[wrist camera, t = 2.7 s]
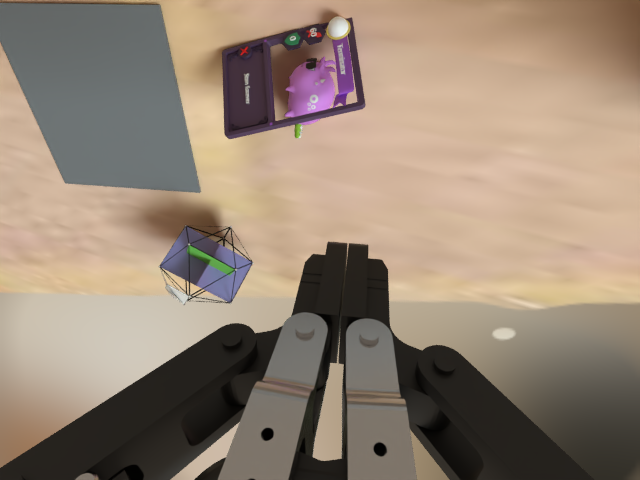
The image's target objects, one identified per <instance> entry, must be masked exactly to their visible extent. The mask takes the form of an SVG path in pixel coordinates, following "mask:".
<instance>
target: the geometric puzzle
mask: <svg viewBox="0 0 640 480" xmlns="http://www.w3.org/2000/svg"><path fill="white" fill-rule="evenodd" d="M209 227H220V226H209ZM191 228H192V227H189V226H186V225H185V228H184V229H183V231H182V232H181V234H180V235H179V237H178V239H177V240H176V242H175V243H174V245H173V246H172V248H171V249H170V251H169V252H168V254H167V255H166V257H165V258H164V260H163V262H162V263H161V265H160V266H158V267H160V268H161V269H162V268H163V269H165V270H167V271H169V272H171V273H173V274H175V275H177V276H179V277H181V278H183V279H185V280H187V281H189V295H188V294H187V283H186V292H185V291H184V290H183V289H182V288H181V287H180V286H179V285H178V284H177V283H176V282H175V281H174V280H173V279H172V278H171V277H170V276H169V275H168V274H167V273H166V272H165V271H164V270H163V269H162V270H163V272H164V273H166V274H167V275H168V276H169V277H170V278H171V279H172V280H173V281H174V282H175V283H176V284H177V285H178V286H179V287H180V288H181V289H182V290H183V291H184V292H185V293H186V294H184V293H182V292H181V291H179V290H177V289H175V288H173V287H172V286H170V285H168V284H167V282H166V280H165V278H164V276H163V278H164V280H165V283H166V287H165V288H166V289H167V291H169V294H170V295H171V296H172V297H173V298H175V297H174V295H175V296H176V297H177V298H178V299H179V300H180V301H181V302H182V303H183V305H185V303H186V302H187V301H188V300H190V299H192V298H194V297H196V296H197V295H196V296H194V297H193V296H192V295H194V294H195V293H197V292H199V291H201V290H202V289H204V290H205V291H208V292H210V293H212V294H214V295H216V296H218V297H220V298H222V299H224V300H225V301H227V302H226V303H230V304H232V303H231V302H232V301H233V298H234V297H235V295H236V293H237V291H238V290H239V288H240V286H241V284H242V282H243V280H244V278H245V277H246V275H247V273H248V271H249V269H250V267H251V265H252V264H253V262H252V260H249V259H248V258H247V257H246V256H245V255H244V254H242V253H241V252H240V251H239V250H238V249H236V248H235V247H234V246H233V238H232V244H230V243H229V242H228V241H227V240H226V239H225V237H226V235H227V233H228V232H229V230H230V229H231V228H232V226H230V227H228V228H229V229H228V228H226V229H228V231H227V233H226V234H225V236H224V238H223V239H221V240H223V246H222V245H220V244H218V242H219V241H221V240H219V241H217V242H215V241H213V240H211V239H209V238H207V237H209V236H211V235H214V234H216V233H218V232H216V233H214V234H211V235H209V236H207V237H205V236H204V235H202V234H200V233H198V232H196V231H195V230H193V229H195V228H193V229H191ZM226 229H223V230H226ZM196 230H198V229H196ZM223 230H221V231H223ZM232 230H233V229H232ZM232 230H231V237H232ZM199 231H201V230H199ZM221 231H219V232H221ZM202 232H204V231H202ZM233 232H234V231H233ZM205 233H207V232H205ZM208 234H210V233H208ZM235 235H236V234H235ZM214 236H216V235H214ZM217 237H219V236H217ZM236 237H237V236H236ZM220 238H222V237H220ZM225 240H226V241H227V242H228V243H229V244H230V245H232V246H233V251H231V250H229V249H227V248H225ZM238 240H239V239H238ZM240 243H241V242H240ZM241 245H242V244H241ZM234 248H235V249H236V250H238V251H239V252H240V253H241V254H242V255H243V256H245V257H246V258H247V259H248V260H247V259H245V258H244V257H242V256H240V255H238V254H236V253H235V252H234ZM243 248H244V247H243ZM246 253H247V252H246ZM248 256H249V255H248ZM249 258H250V257H249ZM161 269H160V270H161ZM161 272H162V271H161ZM162 275H163V273H162ZM168 276H167V277H168ZM169 277H168V278H169ZM171 282H172V281H171ZM190 282H191V283H192V284H194V285H196V286H198V287H200V288H202V289H200V290H199V291H197V292H195V293H193V294H192V295H190ZM172 283H173V282H172ZM175 287H176V286H175ZM176 288H177V287H176ZM205 291H203V292H205ZM203 292H201V293H203ZM201 293H199V294H201ZM173 294H174V295H173ZM199 294H198V295H199ZM189 297H192V298H190V299H189ZM196 298H198V297H196ZM175 299H176V298H175ZM178 299H176V300H178ZM202 299H205V298H202ZM208 300H209V299H208ZM180 301H179V302H180ZM220 302H221V301H220Z"/></svg>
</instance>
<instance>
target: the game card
mask: <svg viewBox="0 0 640 480" xmlns="http://www.w3.org/2000/svg"><path fill="white" fill-rule="evenodd" d="M326 28H327V29H326ZM324 29H326V31H325V30H324ZM325 33H327V36H328V37H329V38H330V39H332V40H333V47H334V53H335V59H336V63H335V62H334V61H333V60H329V61H325V57H323V58H322V59H321V61H320V62H316V61H317V58H311V59H307V60H306V61H307V62H304V63H302V64H301V65H299V66H298V67H297V68H296V69H295V70H294V71H293V73H292V75H291V76H290V77H288V78H289V79H290V86H289V87H287V88H286V89H285V90H287V91H289V101H288V112H287V113H286V114H285V116H286V117H289V116H290V117H291V118H288V119H283V120H279V121H275V110H274V97H273V83H272V69H271V56H270V47H271V46H273V45H277V44H281V43H282V44H283V45H284V46H285V48H286V49H287V50H288V51H289V50H293V49H297V48H300V46H301V44H302V42H303V40H305V41H306V42H307V43H308V44H309V45H311V44H315V43H319V42H321V41H322V39H323V37H324V35H325ZM347 35H348V39H349V45H348V40H347ZM349 46H350V50H349ZM350 53H351V56H350ZM351 60H352V65H351ZM222 63H223V96H224V130H225V135H226V137H227V138H228V139H233V138H238V137H242V136H246V135H251V134H255V133H259V132H264V131H268V130H273V129H277V128H281V127H286V126H290V125H294V124H295V137H296V138H299V139H300V137H301V135H300V134H301V133H302V132H301V131H303V130H302V129H301V128H302V127H303V126H302V125H307V124H312V123H314V122H316V121H318V120H319V119H321V118H325V117H329V116H334V115H338V114H342V113H347V112H351V111H356V110H360V109H363V108H364V107H365V99H364V93H363V86H362V79H361V73H360V66H359V60H358V53H357V46H356V40H355V33H354V27H353V21H352V18H348V19H344V18H343V17H339V16H337V17H334V18H333V19H332V20H331V21H330V22H329V23H324V24H320V25H319V24H317V25H313V26H309V27H306V28H301V29H296V30H292V31H289V32H285V33H282V34H278V35H275V36H271V37H268V38H264V39H260V40H257V41H253V42H250V43H246V44H243V45H239V46H236V47H232V48H229V49H225V50H224V51H223V52H222ZM329 64H336V69H337V80H338V89H339V94H337V95H336V98H335V101H334V106H333V108H331V109H329V108H330V106H331V104H332V102H333V99H334V94H335V88H334V83H333V79H332V77H331V75H330V73H329V71H332V72H336V71H335V69H334V68H333V67H326V66H327V65H329ZM352 67H353V73H354V80H355V87H356V94H357V101H358V102H356V103H352V104H348V105H346V97H347V94H348V93H349V92H352V91H353V90H354V83H353V74H352ZM339 103H342V104H343V105H344V106H339V107H335V106H337V105H338V104H339ZM334 107H335V108H334Z"/></svg>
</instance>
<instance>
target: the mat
mask: <svg viewBox="0 0 640 480" xmlns="http://www.w3.org/2000/svg"><path fill="white" fill-rule="evenodd" d="M0 42H1V44H2V46H3V49H4V51H5V53H6V55H7V57H8V60H9V62H10V64H11V66H12V68H13V70H14V73H15V75H16V77H17V79H18V81H19V84H20V86H21V88H22V90H23V92H24V94H25V97H26V99H27V101H28V103H29V105H30V108H31V110H32V112H33V114H34V116H35V118H36V121H37V123H38V125H39V127H40V129H41V131H42V134H43V136H44V138H45V140H46V142H47V145H48V147H49V149H50V151H51V153H52V155H53V158H54V160H55V162H56V164H57V166H58V169H59V171H60V173H61V175H62V177H63V179H64V182H65V183H68V184H82V185H97V186H111V187H125V188H139V189H153V190H167V191H181V192H196V193H200V192H201V191H200V186H199V181H198V177H197V172H196V168H195V163H194V158H193V154H192V149H191V145H190V140H189V136H188V131H187V126H186V122H185V117H184V113H183V108H182V103H181V99H180V94H179V90H178V85H177V80H176V76H175V71H174V67H173V62H172V57H171V53H170V48H169V44H168V39H167V34H166V30H165V25H164V21H163V16H162V11H161V7H160V5H138V4H55V3H0Z"/></svg>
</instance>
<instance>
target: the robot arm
mask: <svg viewBox="0 0 640 480" xmlns="http://www.w3.org/2000/svg"><path fill="white" fill-rule="evenodd" d="M346 260H347V266H346ZM340 326H341V327H340ZM339 336H340V347H339V363H340V364H344V370H343V371H344V372H343V386H342V459H337V460H330V461H320V460H317V459H315V458H313V449H314V441H315V436H316V431H317V426H318V422H319V417H320V412H321V407H322V403H323V397H324V393H325V388H326V382H327V379H328V375H329V367H330V363H337V354H338V345H339ZM239 422H240V423H239ZM237 423H239V426H238V428H237V431H236V434H235V436H234V439H233V441H232V444H231V446H230V449H229V452H228V454H227V457H226V458H223V459H221V460H220V461H218V462H216V463H214V464H213V465H211V466H210V467H209V468H207V469H206V470H205V471H203V472H202V473H201V474H200V475H199V476H198V477H197V478H196V479H195V480H417V476H416V469H415V462H414V455H413V448H412V441H411V434H410V429H411V431H412V432H413V433H414V435H415V436H416V437H417V438H418V439H419V441H420V442H421V443H422V445H423V446H424V447H425V449H426V450H427V451H428V452H429V454H430V455H431V456H432V457H433V459H434V460H435V461H436V463H437V464H438V465H439V466H440V468H441V469H442V470H443V472H444V473H445V474H446V475H447V477H448V478H449V479H450V480H594V479H593V478H592V477H591V476H590V475H589V474H588V473H587V472H585V471H584V470H583V469H582V468H581V467H580V466H579V465H578V464H577V463H576V462H575V461H574V460H572V458H571V457H569V456H568V455H567V454H566V453H565V452H564V451H563V450H562V449H561V448H560V447H559V446H558V445H557V444H556V443H555V442H553V441H552V440H551V439H550V438H549V437H548V436H547V435H546V434H545V433H544V432H543V431H542V430H541V429H539V427H538V426H536V425H535V424H534V423H533V422H532V421H531V420H530V419H529V418H528V417H527V416H526V415H525V414H524V413H523V412H521V411H520V410H519V409H518V408H517V407H516V406H515V405H514V404H513V403H512V402H511V401H510V400H509V399H508V398H507V397H505V396H504V395H503V394H502V393H501V392H500V391H499V390H498V389H497V388H496V387H495V386H494V385H492V384H491V382H490V381H488V380H487V379H486V378H485V377H484V376H483V375H482V374H481V373H480V372H479V371H478V370H477V369H476V368H475V367H474V366H472V365H471V364H470V363H469V362H468V361H467V360H466V359H465V358H464V357H463V356H462V355H461V354H459V353H458V352H457V351H455V350H454V349H451V348H449V347H446V346H442V345H434V346H429V347H427V348H425V349H424V350H423V351H422V350H419V349H416V348H414V347H411V346H409V345H407V344H405V343H403V342H402V341H400V340H399V339H398V338H397V337H396V336H395V335H394V333H393V332H392V330H391V328H390V322H389V291H388V269H387V267H386V266H385V264H384V262H383V261H382V260H380V259H368V245H365V244H352V243H349V248H348V257H347V243H338V242H328V244H327V249H326V255H318V254H313V255H312V256H311V257H310V258H309V259H308V260H307V261H306V262H305V265H304V269H303V274H302V277H301V281H300V285H299V289H298V293H297V297H296V301H295V305H294V309H293V313H292V316H291V317H290V318H288V319H287V320H286V321H285V323H284V325H283V326H282V327H280V328H278V329H275V330H272V331H267V332H262V333H254V331H253V330H252V329H251V328H250V327H249V326H247V325H244V324H239V323H235V324H229V325H225V326H223V327H221V328H219V329H218V330H216V331H215V332H213V333H212V334H210V335H208V336H207V337H205V338H204V339H202V340H200V341H199V342H197V343H196V344H194V345H193V346H191V347H189V348H188V349H186V350H185V351H183V352H182V353H180V354H178V355H177V356H175V357H174V358H172V359H171V360H169V361H167V362H166V363H164V364H163V365H161V366H160V367H158V368H156V369H155V370H154V371H152V372H150V373H149V374H147V375H145V376H144V377H143V378H141V379H139V380H138V381H136V382H135V383H133V384H132V385H130V386H128V387H127V388H125V389H123V390H122V391H120V392H119V393H117V394H116V395H114V396H113V397H111V398H109V399H108V400H106V401H105V402H103V403H102V404H100V405H98V406H97V407H95V408H94V409H92V410H91V411H89V412H87V413H86V414H84V415H83V416H81V417H80V418H78V419H76V420H75V421H73V422H72V423H70V424H69V425H67V426H65V427H64V428H62V429H61V430H59V431H58V432H56V433H54V434H53V435H51V436H50V437H48V438H47V439H45V440H43V441H42V442H40V443H39V444H37V445H36V446H34V447H32V448H31V449H29V450H28V451H26V452H25V453H23V454H21V455H20V456H18V457H17V458H15V459H14V460H12V461H10V462H9V463H7V464H6V465H4V466H3V467H1V468H0V480H170V479H171V478H173V477H174V476H175V475H176V474H177V473H179V472H180V471H181V470H182V469H183V468H184V467H186V466H187V465H188V464H189V463H190V462H192V461H193V460H194V459H195V458H197V457H198V456H199V455H200V454H201V453H203V452H204V451H205V450H206V449H207V448H209V447H210V446H211V445H212V444H213V443H215V442H216V441H217V440H218V439H219V438H221V437H222V436H223V435H224V434H225V433H227V432H228V431H229V430H230V429H231V428H233V427H234V426H235V425H236V424H237Z"/></svg>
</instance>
